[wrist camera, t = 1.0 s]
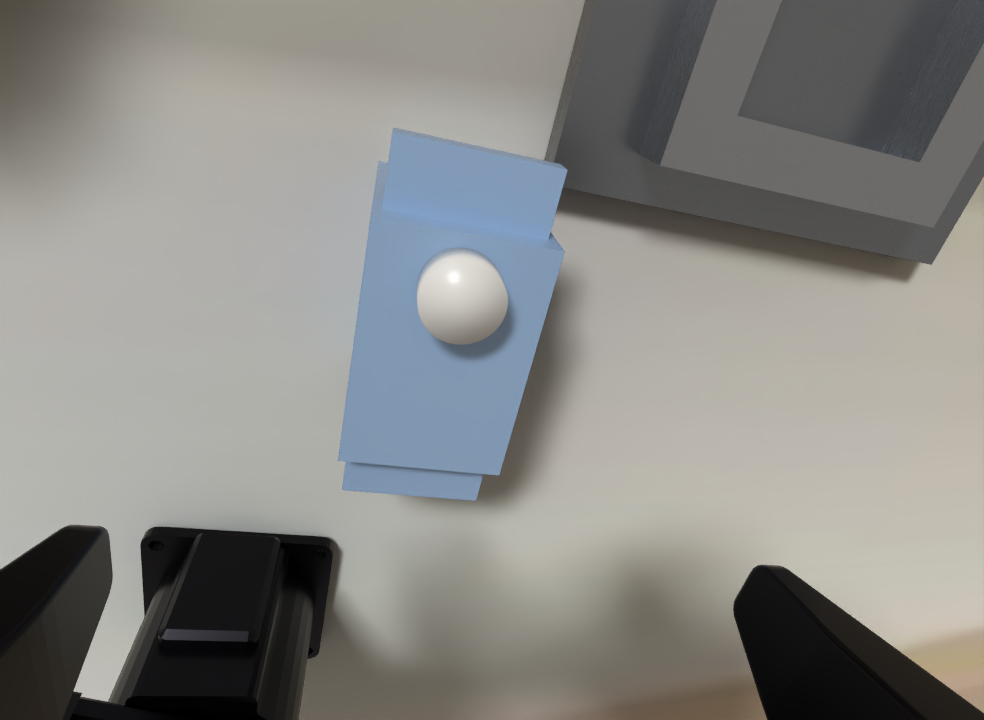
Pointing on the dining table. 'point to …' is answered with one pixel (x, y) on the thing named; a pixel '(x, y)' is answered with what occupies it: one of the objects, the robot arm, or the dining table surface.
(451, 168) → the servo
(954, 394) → the dining table surface
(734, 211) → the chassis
